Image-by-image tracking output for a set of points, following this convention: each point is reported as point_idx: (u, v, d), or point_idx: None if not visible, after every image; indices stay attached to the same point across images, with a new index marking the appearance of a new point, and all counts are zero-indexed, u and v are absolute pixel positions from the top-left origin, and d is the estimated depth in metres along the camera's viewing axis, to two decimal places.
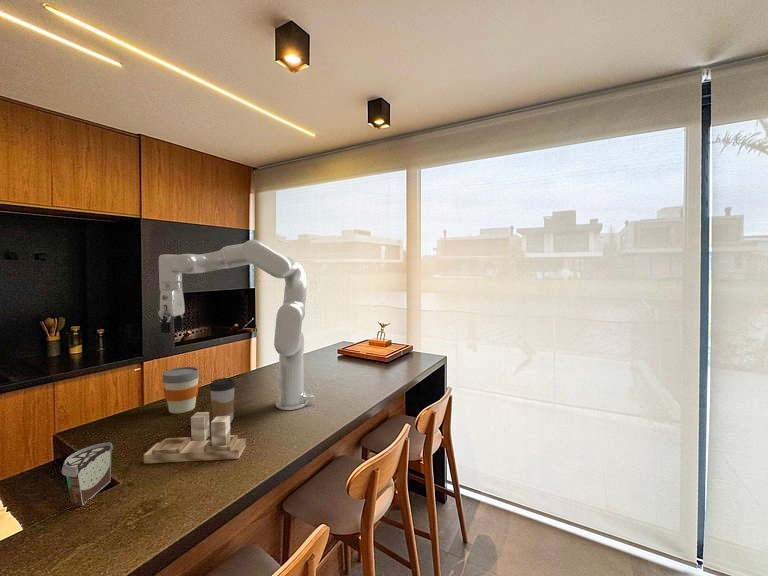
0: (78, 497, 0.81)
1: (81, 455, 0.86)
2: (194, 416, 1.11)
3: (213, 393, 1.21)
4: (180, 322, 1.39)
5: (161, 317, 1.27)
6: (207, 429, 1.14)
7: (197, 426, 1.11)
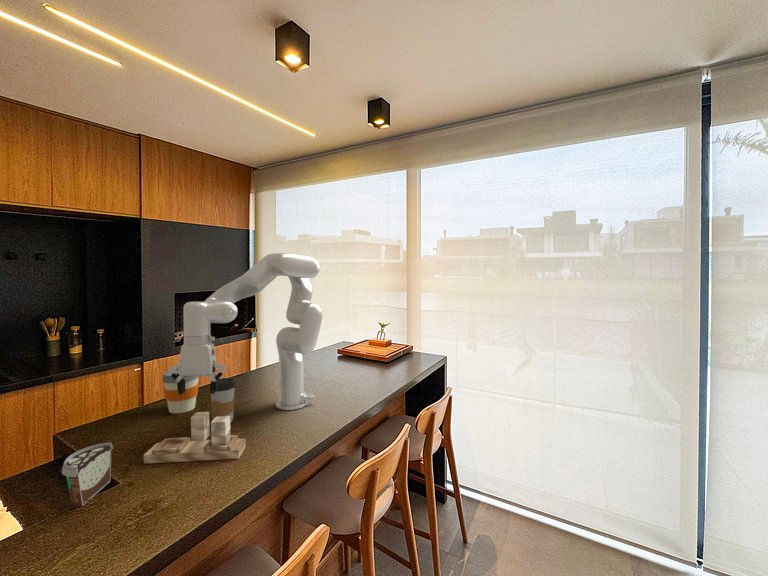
0: (78, 497, 0.81)
1: (81, 455, 0.86)
2: (194, 416, 1.11)
3: None
4: (184, 385, 1.12)
5: (222, 373, 1.12)
6: (207, 429, 1.14)
7: (197, 426, 1.11)
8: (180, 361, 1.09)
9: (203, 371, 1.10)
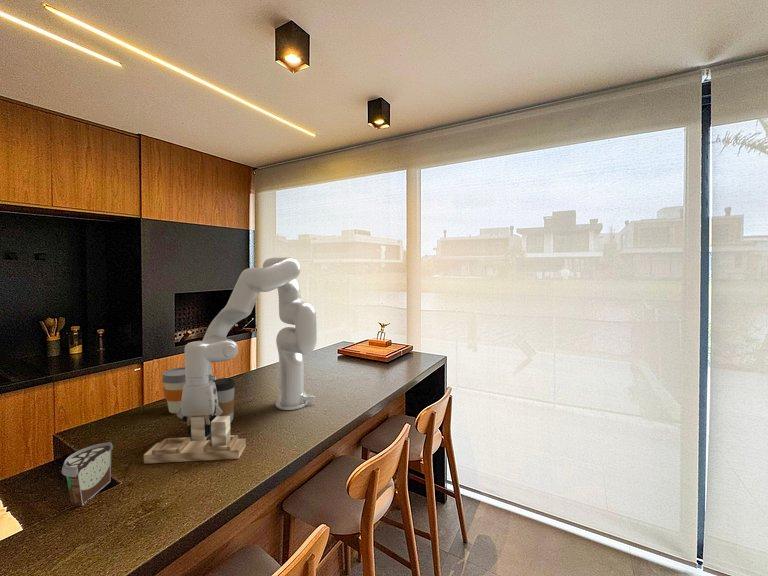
0: (78, 497, 0.81)
1: (81, 455, 0.86)
2: (194, 416, 1.11)
3: None
4: None
5: None
6: None
7: (197, 426, 1.11)
8: (182, 401, 1.10)
9: (205, 411, 1.11)
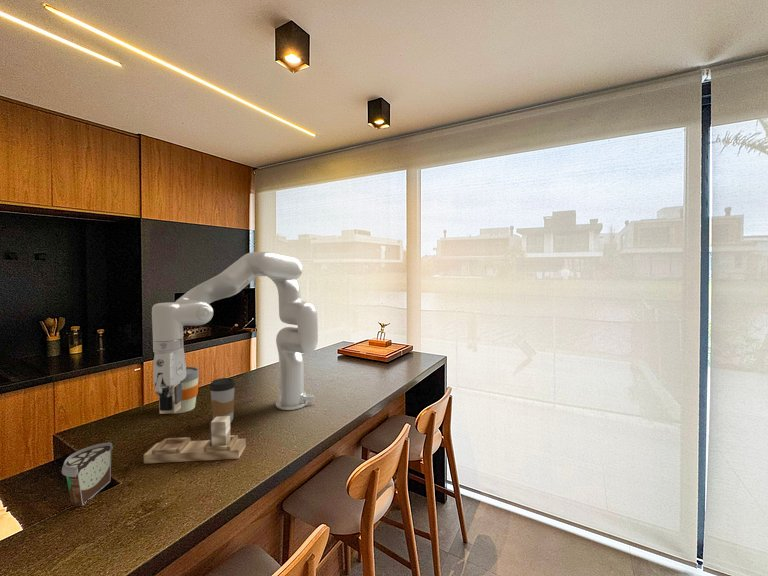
0: (78, 497, 0.81)
1: (81, 455, 0.86)
2: None
3: (213, 393, 1.21)
4: None
5: (160, 393, 0.96)
6: None
7: None
8: None
9: None
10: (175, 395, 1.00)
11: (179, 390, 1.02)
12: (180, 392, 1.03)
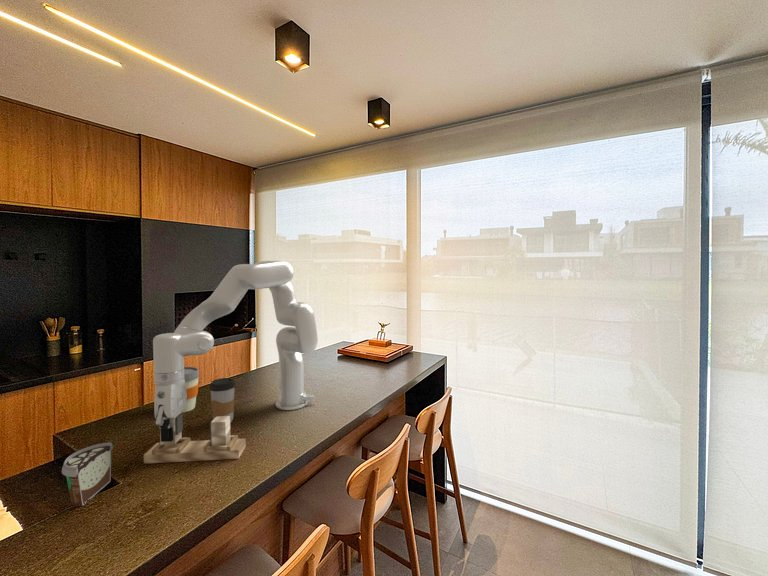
0: (78, 496, 0.81)
1: (81, 455, 0.86)
2: None
3: (213, 393, 1.21)
4: None
5: (161, 425, 0.97)
6: None
7: None
8: None
9: None
10: (176, 426, 1.01)
11: (180, 420, 1.02)
12: (181, 422, 1.03)
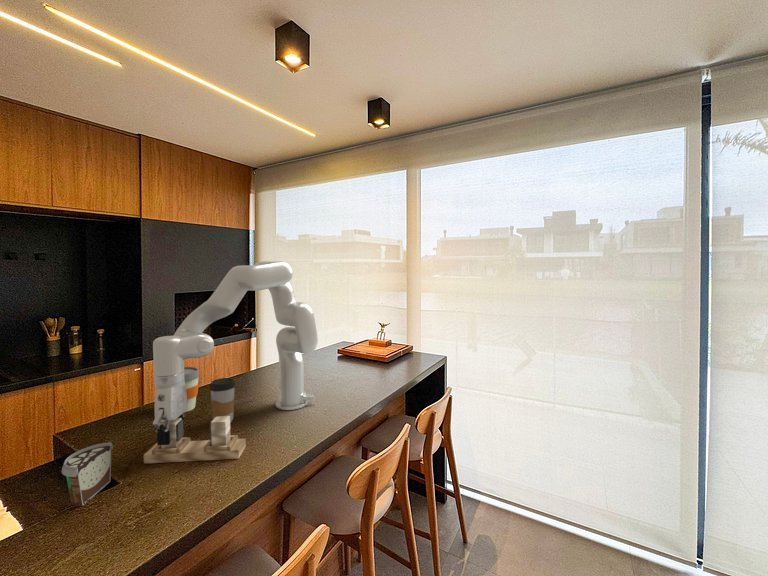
0: (78, 497, 0.81)
1: (81, 455, 0.86)
2: None
3: (213, 393, 1.21)
4: None
5: (157, 428, 0.95)
6: None
7: None
8: None
9: None
10: (177, 433, 1.01)
11: (181, 427, 1.03)
12: (182, 429, 1.03)
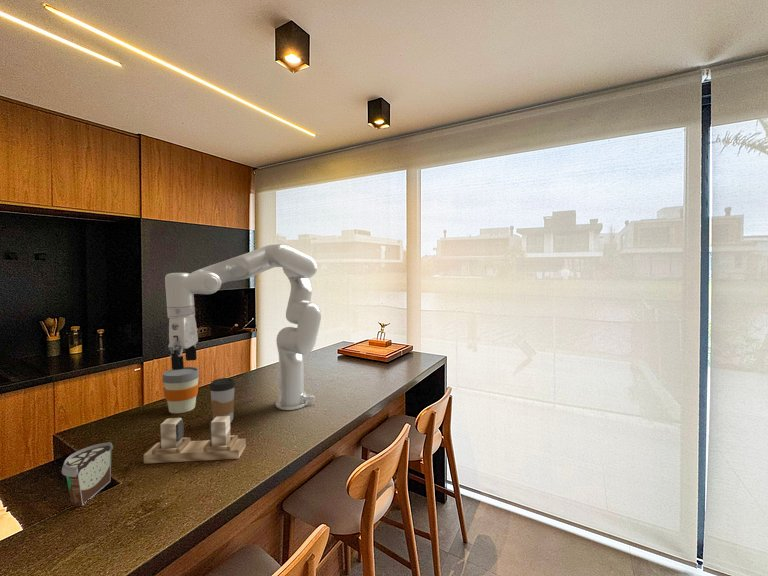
0: (78, 496, 0.81)
1: (81, 455, 0.86)
2: (168, 419, 1.03)
3: (213, 393, 1.21)
4: (193, 353, 1.16)
5: (172, 351, 1.03)
6: (169, 441, 1.01)
7: None
8: None
9: None
10: (177, 433, 1.01)
11: (181, 427, 1.03)
12: (182, 429, 1.03)
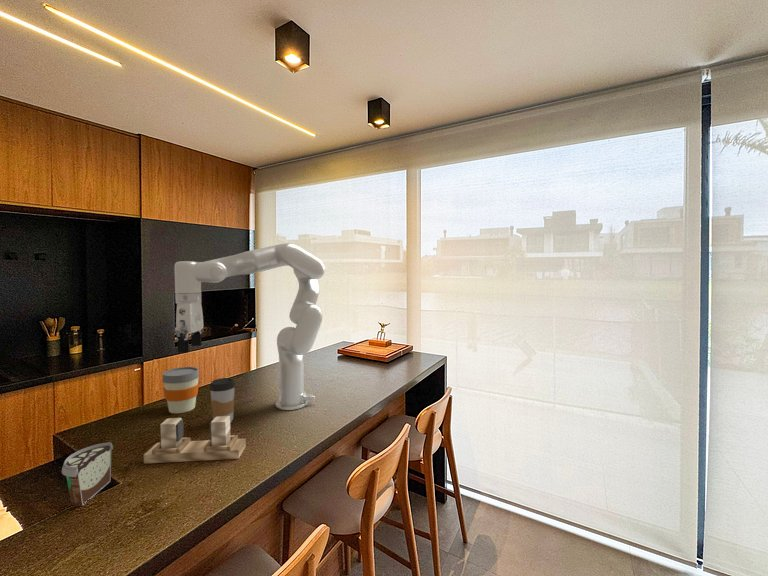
0: (78, 497, 0.81)
1: (81, 455, 0.86)
2: (168, 419, 1.03)
3: (213, 393, 1.21)
4: (198, 339, 1.21)
5: (178, 335, 1.09)
6: (169, 441, 1.01)
7: None
8: None
9: None
10: (177, 433, 1.01)
11: (181, 427, 1.03)
12: (182, 429, 1.03)
